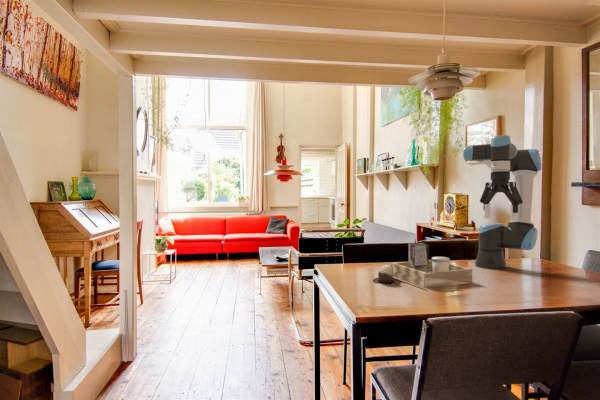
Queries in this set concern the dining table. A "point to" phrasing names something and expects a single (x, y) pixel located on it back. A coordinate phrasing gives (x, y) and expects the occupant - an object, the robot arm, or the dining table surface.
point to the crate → (432, 275)
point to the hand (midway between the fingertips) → (499, 219)
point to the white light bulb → (440, 264)
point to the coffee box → (419, 257)
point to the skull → (386, 276)
